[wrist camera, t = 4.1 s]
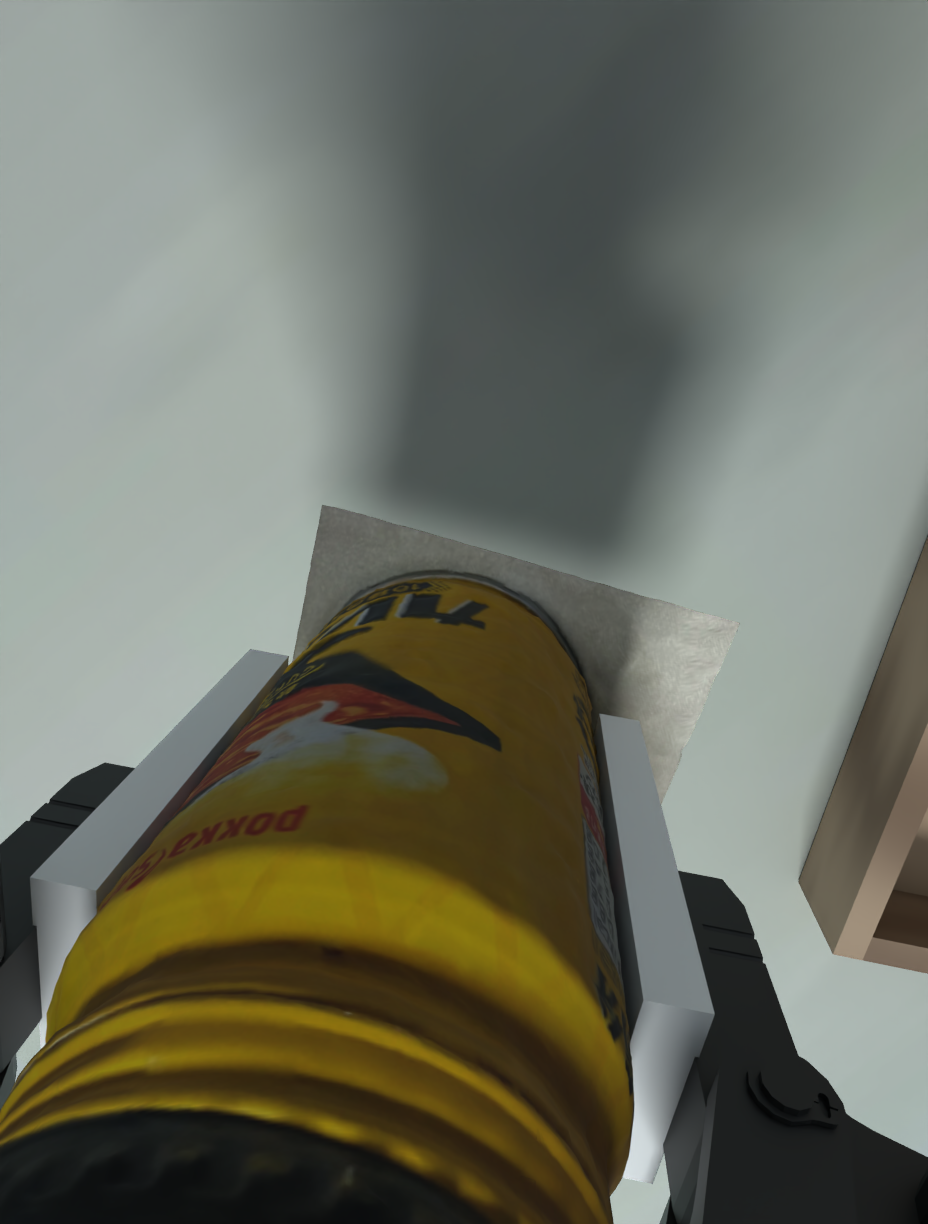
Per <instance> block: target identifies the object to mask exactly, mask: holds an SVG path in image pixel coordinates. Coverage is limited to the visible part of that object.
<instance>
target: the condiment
mask: <svg viewBox="0 0 928 1224" xmlns="http://www.w3.org/2000/svg"><path fill="white" fill-rule="evenodd" d="M739 624H740V623H738V622H734V621H731V620H727V619H724V618H720V617H717V616H713V615H708V614H704V613H701V612H697V611H694V610H691V609H687V608H684V607H681V606H678V605H675V604H672V603H668V602H664V601H661V600H657V599H652V598H647V597H644V596H640V595H637V594H634V593H631V592H628V591H624V590H620V589H617V588H614V587H611V586H608V585H605V584H600V583H596V582H592V581H588V580H585V579H582V578H580V577H577V576H573V575H570V574H566V573H562V572H559V571H555V570H553V569H549V568H546V567H542V566H539V565H536V564H533V563H530V562H527V561H523V560H520V559H517V558H513V557H510V556H507V555H503V554H500V553H496V552H492V551H489V550H485V549H482V548H478V547H474V546H470V545H467V544H464V543H460V542H457V541H454V540H451V539H447V538H443V537H439V536H436V535H433V534H429V533H426V532H423V531H419V530H416V529H412V528H409V527H405V526H400V525H396V524H392V523H389V522H386V521H383V520H380V519H377V518H373V517H369V516H366V515H363V514H359V513H355V512H351V511H347V510H344V509H339V508H335V507H329V506H325V505H322V509H321V515H320V520H319V526H318V530H317V535H316V540H315V545H314V551H313V555H312V560H311V568H310V572H309V577H308V581H307V587H306V595H305V599H304V604H303V610H302V615H301V620H300V625H299V629H298V634H297V641H296V645H295V651H294V656H293V661H292V663H291V664H290V665H289V666H288V667H287V668H286V670H285V671H284V673H283V675H282V676H281V678H280V679H279V680H278V681H277V683H276V684H275V686H274V687H273V689H272V690H271V691H270V693H269V694H268V696H267V697H265V699H264V700H263V702H262V703H261V705H260V706H259V708H258V709H257V711H256V713H255V714H254V716H253V717H252V718H251V719H250V720H249V721H248V722H247V723H246V724H245V725H244V726H243V727H242V729H241V730H240V732H239V734H238V735H237V737H236V738H235V739H234V741H233V742H232V743H231V744H230V745H229V746H228V747H227V748H226V749H225V750H224V751H222V753H221V754H220V756H219V758H218V760H217V762H216V763H215V765H214V766H213V767H212V768H211V769H210V770H209V772H208V773H207V774H206V776H205V777H204V778H203V780H202V781H201V782H200V784H199V785H198V786H197V787H196V788H195V789H194V790H193V791H192V792H191V794H190V795H189V796H188V798H187V799H186V801H185V802H184V803H183V805H182V806H181V807H180V808H179V809H178V810H177V811H176V812H175V814H174V815H173V816H172V818H171V819H170V820H169V821H168V822H167V823H166V824H165V825H164V827H163V828H162V830H161V831H160V833H159V834H158V836H156V838H155V839H154V841H153V842H152V844H151V845H150V846H149V848H148V849H147V850H146V851H145V852H144V854H143V855H141V856H140V857H139V858H138V859H137V861H136V862H135V863H134V864H133V865H132V866H131V867H130V868H129V869H128V870H127V871H126V872H125V873H124V874H123V875H122V876H121V878H120V879H119V881H118V882H117V884H116V885H115V887H114V888H113V889H112V891H111V892H110V893H109V894H108V895H107V896H106V897H105V898H104V899H103V900H102V902H101V904H100V905H99V907H98V908H97V915H96V916H95V917H94V918H93V919H92V920H91V921H90V922H89V923H88V924H87V926H86V927H85V928H84V929H83V930H82V931H81V933H80V934H79V936H78V938H77V940H76V942H75V944H74V945H73V947H72V949H71V950H70V952H69V953H68V955H67V957H66V959H65V961H64V964H63V967H62V970H61V973H60V975H59V978H58V980H57V983H56V985H55V989H54V992H53V996H52V1000H51V1002H50V1005H49V1008H48V1010H47V1013H46V1017H47V1029H46V1037H45V1043H46V1044H45V1045H44V1046H43V1048H42V1049H41V1050H40V1051H39V1052H38V1053H37V1054H36V1055H35V1056H34V1057H33V1058H32V1059H31V1060H30V1061H29V1063H28V1064H27V1065H26V1066H25V1068H24V1069H23V1070H22V1072H21V1073H20V1074H19V1076H18V1078H17V1080H16V1082H15V1084H14V1086H13V1088H12V1090H11V1092H10V1095H9V1096H8V1098H7V1100H6V1101H5V1103H4V1105H3V1107H2V1108H1V1110H0V1224H614V1223H613V1216H612V1210H611V1203H610V1196H611V1194H612V1193H613V1192H614V1190H615V1189H616V1187H617V1186H618V1184H619V1182H620V1181H621V1179H622V1177H623V1174H624V1171H625V1167H626V1164H627V1161H628V1157H629V1152H630V1146H631V1137H632V1128H633V1120H634V1106H635V1104H634V1087H633V1067H632V1056H631V1053H630V1037H629V1025H628V1020H627V1015H626V1004H625V995H624V986H623V980H622V975H621V958H620V954H619V950H618V938H617V929H616V923H615V917H614V896H613V893H612V889H611V884H610V878H609V872H608V865H607V851H606V844H605V838H606V833H605V830H604V828H603V808H602V807H601V795H600V791H599V782H600V773H599V769H598V766H597V762H596V754H597V750H596V746H595V743H594V734H595V730H596V726H597V722H598V718H599V714H604V715H610V716H615V717H621V718H626V719H631V720H637V721H640V725H641V729H642V733H643V737H644V741H645V745H646V749H647V753H648V756H649V760H650V764H651V768H652V772H653V776H654V780H655V784H656V788H657V792H658V795H659V799H660V803H661V804H662V801H663V799H664V797H665V795H666V792H667V790H668V788H669V785H670V783H671V781H672V779H673V776H674V774H675V772H676V770H677V767H678V765H679V762H680V759H681V755H682V754H681V752H682V750H683V748H684V747H685V746H686V744H687V743H688V741H689V738H690V736H691V735H692V733H693V731H694V728H695V726H696V723H697V721H698V719H699V717H700V715H701V713H702V710H703V708H704V705H705V702H706V700H707V697H708V694H709V692H710V690H711V687H712V685H713V682H714V680H715V677H716V675H717V674H718V673H719V671H720V669H721V666H722V664H723V662H724V659H725V657H726V655H727V653H728V650H729V648H730V646H731V643H732V641H733V638H734V636H735V634H736V631H737V629H738V627H739Z"/></svg>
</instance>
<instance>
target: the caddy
mask: <svg viewBox="0 0 928 1224" xmlns="http://www.w3.org/2000/svg"><path fill="white" fill-rule="evenodd" d="M799 884H800V886H801V889H802V891H803V893H804V895H805V897H806V899H807V901H808V903H809V905H810V907H811V909H812V911H813V914H814V916H815V918H816V920H817V922H818V924H819V926H820V928H821V930H822V932H823V934H824V937H825V939H826V941H827V943H828V945H829V947H830V949H831V951H832V953H833V954H834V955H839V956H844V957H849V958H854V959H859V960H864V961H869V962H874V963H879V964H884V965H888V966H893V967H898V968H903V969H908V970H913V971H918V972H923V973H928V537H927V540H926V543H925V545H924V548H923V551H922V553H921V556H920V559H919V561H918V564H917V567H916V569H915V572H914V575H913V577H912V580H911V583H910V585H909V588H908V591H907V593H906V596H905V599H904V601H903V604H902V607H901V609H900V612H899V615H898V617H897V620H896V623H895V625H894V628H893V631H892V633H891V636H890V639H889V641H888V644H887V647H886V649H885V652H884V655H883V657H882V660H881V663H880V665H879V668H878V671H877V673H876V676H875V679H874V681H873V684H872V687H871V689H870V692H869V695H868V697H867V700H866V703H865V705H864V708H863V711H862V713H861V716H860V719H859V722H858V724H857V727H856V730H855V732H854V735H853V738H852V740H851V743H850V746H849V748H848V751H847V754H846V756H845V759H844V762H843V764H842V767H841V770H840V772H839V775H838V778H837V780H836V783H835V786H834V788H833V791H832V794H831V796H830V799H829V802H828V804H827V807H826V810H825V812H824V815H823V818H822V820H821V823H820V826H819V828H818V831H817V834H816V836H815V839H814V842H813V844H812V847H811V850H810V852H809V855H808V858H807V860H806V863H805V866H804V868H803V871H802V874H801V876H800V879H799Z"/></svg>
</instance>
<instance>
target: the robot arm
mask: <svg viewBox="0 0 928 1224" xmlns="http://www.w3.org/2000/svg"><path fill="white" fill-rule="evenodd" d="M288 657H289V656H285V655H279V654H274V653H269V652H263V651H258V650H252V649H250V650H249V651H248V652H247V653H246V654H245V655H244V656H243V657H242V658H241V659H240V660H239V661H238V662H237V663H236V665H235V666H234V667H233V668H232V669H231V670H230V671H229V672H228V673H227V674H226V675H225V676H224V677H223V678H222V679H221V680H220V681H219V682H218V683H217V684H216V685H215V686H214V687H213V688H212V689H211V690H210V691H209V692H208V693H207V695H206V696H205V697H204V698H203V699H202V700H201V701H200V702H199V703H198V704H197V705H196V706H195V707H194V708H193V709H192V710H191V711H190V712H189V713H188V714H187V715H186V716H185V717H184V718H183V719H182V720H181V721H180V722H179V723H178V725H177V726H176V727H175V728H174V729H173V730H172V731H171V732H170V733H169V734H168V735H167V736H166V737H165V738H164V739H163V740H162V741H161V742H160V743H159V744H158V745H157V746H156V747H155V748H154V749H153V750H152V751H151V752H150V753H149V755H148V756H147V757H146V758H145V759H144V760H143V761H142V762H141V763H140V764H139V765H138V766H137V767H136V768H130V767H125V766H120V765H114V764H109V763H103V764H101V765H99V766H97V767H95V768H93V769H91V770H89V771H87V772H85V773H82V774H80V775H78V776H76V777H74V778H72V779H71V780H70V781H69V782H68V783H67V784H66V785H65V786H64V787H63V788H61V789H60V790H59V791H58V792H57V793H56V794H55V795H54V796H53V797H52V798H51V799H50V802H49V803H48V804H47V803H45V804H44V805H43V806H42V807H41V808H40V809H39V810H38V811H36V812H35V813H34V814H33V815H32V816H31V819H30V821H26V822H24V823H23V824H22V825H21V826H20V827H19V828H18V829H17V830H16V831H15V832H14V833H12V834H11V835H10V836H9V837H8V838H7V839H6V840H5V841H4V842H3V843H2V844H0V1110H1V1108H2V1107H3V1105H4V1103H5V1101H6V1100H7V1098H8V1096H9V1095H10V1092H11V1090H12V1088H13V1086H14V1084H15V1078H16V1071H17V1060H16V1053H17V1051H18V1050H19V1048H20V1047H21V1046H22V1044H23V1043H24V1042H25V1040H26V1039H27V1038H28V1036H29V1035H30V1034H31V1032H32V1031H33V1030H34V1028H35V1027H36V1026H37V1024H38V1023H39V1029H40V1045H41V1049H42V1048H43V1046H44V1045H45V1044H46V1043H45V1037H46V1029H47V1017H46V1013H47V1010H48V1008H49V1005H50V1002H51V1000H52V996H53V992H54V989H55V985H56V983H57V980H58V978H59V975H60V973H61V970H62V967H63V964H64V961H65V959H66V957H67V955H68V953H69V952H70V950H71V949H72V947H73V945H74V944H75V942H76V940H77V938H78V936H79V934H80V933H81V931H82V930H83V929H84V928H85V927H86V926H87V924H88V923H89V922H90V921H91V920H92V919H93V918H94V917H95V916H96V915H97V908H98V907H99V905H100V904H101V902H102V900H103V899H104V898H105V897H106V896H107V895H108V894H109V893H110V892H111V891H112V889H113V888H114V887H115V885H116V884H117V882H118V881H119V879H120V878H121V876H122V875H123V874H124V873H125V872H126V871H127V870H128V869H129V868H130V867H131V866H132V865H133V864H134V863H135V862H136V861H137V859H138V858H139V857H140V856H141V855H143V854H144V852H145V851H146V850H147V849H148V848H149V846H150V845H151V844H152V842H153V841H154V839H155V838H156V836H158V834H159V833H160V831H161V830H162V828H163V827H164V825H165V824H166V823H167V822H168V821H169V820H170V819H171V818H172V816H173V815H174V814H175V812H176V811H177V810H178V809H179V808H180V807H181V806H182V805H183V803H184V802H185V801H186V799H187V798H188V796H189V795H190V794H191V792H192V791H193V790H194V789H195V788H196V787H197V786H198V785H199V784H200V782H201V781H202V780H203V778H204V777H205V776H206V774H207V773H208V772H209V770H210V769H211V768H212V767H213V766H214V765H215V763H216V762H217V760H218V758H219V756H220V754H221V753H222V751H224V750H225V749H226V748H227V747H228V746H229V745H230V744H231V743H232V742H233V741H234V739H235V738H236V737H237V735H238V734H239V732H240V730H241V729H242V727H243V726H244V725H245V724H246V723H247V722H248V721H249V720H250V719H251V718H252V717H253V716H254V714H255V713H256V711H257V709H258V708H259V706H260V705H261V703H262V702H263V700H264V699H265V697H267V696H268V694H269V693H270V691H271V690H272V689H273V687H274V686H275V684H276V683H277V681H278V680H279V679H280V678H281V676H282V675H283V673H284V671H285V670H286V668H287V667H288ZM594 743H595V746H596V750H597V754H596V762H597V766H598V769H599V773H600V782H599V791H600V795H601V807H602V808H603V828H604V830H605V833H606V838H605V844H606V851H607V865H608V872H609V878H610V884H611V889H612V893H613V896H614V917H615V923H616V929H617V938H618V950H619V954H620V958H621V975H622V980H623V986H624V995H625V1004H626V1015H627V1020H628V1025H629V1037H630V1053H631V1056H632V1067H633V1087H634V1104H635V1106H634V1120H633V1128H632V1137H631V1146H630V1152H629V1157H628V1161H627V1164H626V1167H625V1171H624V1174H623V1177H622V1178H627V1179H631V1180H636V1181H641V1182H646V1183H650V1184H653V1182H654V1179H655V1176H656V1174H657V1171H658V1168H659V1165H660V1163H661V1160H662V1157H663V1154H665V1161H666V1168H667V1174H668V1181H669V1188H670V1194H671V1195H670V1198H669V1200H668V1203H667V1205H666V1208H665V1211H664V1213H663V1216H662V1219H661V1221H660V1224H928V1157H926V1156H924V1155H922V1154H920V1153H918V1152H916V1151H914V1150H912V1149H910V1148H908V1147H906V1146H904V1145H901V1144H899V1143H897V1142H895V1141H893V1140H891V1139H889V1138H887V1137H885V1136H883V1135H881V1134H879V1133H877V1132H875V1131H873V1130H871V1129H870V1128H868V1127H866V1126H864V1125H863V1124H861V1123H859V1122H858V1121H856V1120H854V1119H853V1118H851V1117H850V1116H849V1115H847V1114H846V1112H845V1109H844V1105H843V1103H842V1101H841V1100H840V1098H839V1097H838V1095H837V1094H836V1092H835V1091H834V1089H833V1088H832V1086H831V1085H830V1083H829V1081H828V1080H827V1079H826V1078H825V1077H824V1076H823V1075H821V1074H820V1073H819V1072H818V1071H817V1070H816V1069H815V1068H814V1067H813V1066H812V1065H811V1064H810V1063H809V1062H808V1061H806V1060H805V1059H803V1058H801V1057H799V1056H798V1054H797V1051H796V1048H795V1045H794V1043H793V1040H792V1037H791V1034H790V1032H789V1029H788V1026H787V1023H786V1020H785V1018H784V1015H783V1012H782V1009H781V1006H780V1004H779V1001H778V998H777V995H776V993H775V990H774V987H773V984H772V981H771V979H770V976H769V973H768V970H767V968H766V965H765V964H764V963H763V962H762V961H763V956H762V954H761V951H760V948H759V945H758V943H757V940H755V939H754V931H753V929H752V926H751V923H750V920H749V918H748V915H747V912H746V909H745V906H744V905H743V904H742V903H741V901H740V900H739V899H738V898H737V897H736V895H735V894H734V893H733V892H732V891H731V889H730V888H729V887H728V886H727V885H726V883H725V882H724V881H723V880H722V879H718V878H713V877H708V876H703V875H697V874H692V873H687V872H682V871H678V869H677V865H676V862H675V858H674V854H673V850H672V846H671V842H670V838H669V834H668V830H667V827H666V823H665V819H664V815H663V811H662V807H661V803H660V799H659V795H658V792H657V788H656V784H655V780H654V776H653V772H652V768H651V764H650V760H649V756H648V753H647V749H646V745H645V741H644V737H643V733H642V729H641V725H640V721H637V720H631V719H626V718H621V717H615V716H610V715H604V714H599V718H598V722H597V726H596V730H595V734H594Z"/></svg>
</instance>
